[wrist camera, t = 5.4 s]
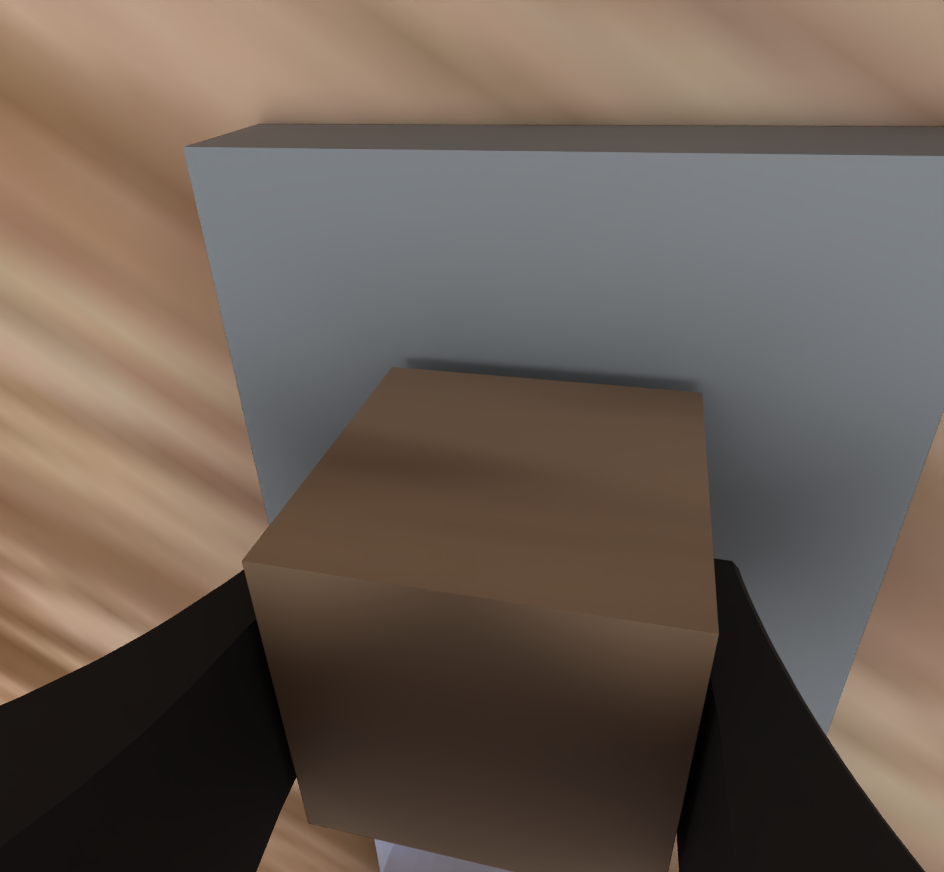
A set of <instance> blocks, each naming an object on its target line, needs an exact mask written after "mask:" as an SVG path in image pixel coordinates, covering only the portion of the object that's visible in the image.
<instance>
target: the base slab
mask: <svg viewBox="0 0 944 872" xmlns="http://www.w3.org/2000/svg"><path fill="white" fill-rule="evenodd" d="M183 149H184V153H185V158H186V162H187V166H188V171H189V175H190V180H191V184H192V188H193V193H194V197H195V202H196V206H197V210H198V215H199V219H200V224H201V228H202V232H203V237H204V241H205V246H206V250H207V255H208V259H209V263H210V268H211V272H212V277H213V281H214V285H215V290H216V294H217V299H218V303H219V307H220V312H221V316H222V321H223V325H224V329H225V334H226V338H227V343H228V347H229V351H230V356H231V360H232V365H233V369H234V373H235V378H236V382H237V387H238V391H239V395H240V400H241V404H242V409H243V413H244V417H245V422H246V426H247V431H248V435H249V439H250V444H251V448H252V453H253V457H254V461H255V466H256V470H257V475H258V479H259V483H260V488H261V492H262V497H263V501H264V505H265V510H266V514H267V519H268V523H269V525H270V524H271V523H272V521H273V520H274V519H275V518H276V516H277V515H278V514H279V512H280V511H281V510H282V509H283V507H284V506H285V505H286V503H287V502H288V501H289V500H290V498H291V497H292V496H293V494H294V493H295V492H296V491H297V489H298V488H299V487H300V485H301V484H302V483H303V482H304V480H305V479H306V478H307V476H308V475H309V474H310V472H311V471H312V470H313V469H314V467H315V466H316V465H317V463H318V462H319V461H320V460H321V458H322V457H323V456H324V454H325V453H326V452H327V451H328V449H329V448H330V447H331V445H332V444H333V443H334V442H335V440H336V439H337V438H338V436H339V435H340V434H341V432H342V431H343V430H344V429H345V427H346V426H347V425H348V423H349V422H350V421H351V420H352V418H353V417H354V416H355V414H356V413H357V412H358V411H359V409H360V408H361V407H362V405H363V404H364V403H365V402H366V400H367V399H368V398H369V396H370V395H371V394H372V393H373V391H374V390H375V389H376V387H377V386H378V385H379V383H380V382H381V381H382V380H383V378H384V377H385V376H386V374H387V373H388V372H389V371H390V369H391V368H392V367H399V368H411V369H423V370H435V371H447V372H459V373H471V374H483V375H496V376H508V377H520V378H532V379H544V380H556V381H568V382H580V383H592V384H604V385H616V386H628V387H640V388H652V389H664V390H676V391H688V392H700V393H702V398H703V412H704V427H705V441H706V456H707V470H708V484H709V499H710V513H711V528H712V542H713V556H714V558H715V559H722V560H730V561H733V562H734V563H735V565H736V566H737V567H738V568H739V571H740V573H741V576H742V579H743V581H744V584H745V586H746V589H747V591H748V593H749V596H750V598H751V600H752V602H753V605H754V607H755V609H756V611H757V613H758V615H759V617H760V619H761V622H762V624H763V626H764V628H765V630H766V632H767V634H768V636H769V638H770V640H771V642H772V644H773V645H774V647H775V649H776V651H777V653H778V655H779V657H780V658H781V660H782V662H783V664H784V666H785V667H786V669H787V671H788V673H789V675H790V676H791V678H792V680H793V682H794V684H795V685H796V687H797V689H798V691H799V692H800V694H801V696H802V698H803V699H804V701H805V703H806V704H807V706H808V708H809V709H810V711H811V713H812V714H813V716H814V717H815V719H816V721H817V722H818V724H819V725H820V727H821V728H822V730H823V732H824V733H825V735H827V732H828V729H829V727H830V724H831V721H832V718H833V716H834V713H835V710H836V707H837V705H838V702H839V699H840V696H841V693H842V691H843V688H844V685H845V682H846V680H847V677H848V674H849V671H850V668H851V666H852V663H853V660H854V657H855V655H856V652H857V649H858V646H859V644H860V641H861V638H862V635H863V632H864V630H865V627H866V624H867V621H868V619H869V616H870V613H871V610H872V608H873V605H874V602H875V599H876V596H877V594H878V591H879V588H880V585H881V583H882V580H883V577H884V574H885V571H886V569H887V566H888V563H889V560H890V558H891V555H892V552H893V549H894V547H895V544H896V541H897V538H898V535H899V533H900V530H901V527H902V524H903V522H904V519H905V516H906V513H907V511H908V508H909V505H910V502H911V499H912V497H913V494H914V491H915V488H916V486H917V483H918V480H919V477H920V475H921V472H922V469H923V466H924V463H925V461H926V458H927V455H928V452H929V450H930V447H931V444H932V441H933V438H934V436H935V433H936V430H937V427H938V425H939V422H940V419H941V416H942V414H943V411H944V127H928V126H661V125H393V124H257V125H254V126H251V127H248V128H244V129H241V130H238V131H234V132H231V133H228V134H224V135H221V136H218V137H214V138H211V139H208V140H205V141H201V142H198V143H195V144H191V145H188V146H185V147H183Z"/></svg>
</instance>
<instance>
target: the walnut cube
mask: <svg viewBox="0 0 944 872" xmlns="http://www.w3.org/2000/svg"><path fill="white" fill-rule="evenodd" d="M242 564H243V568H244V571H245V575H246V579H247V583H248V587H249V591H250V595H251V599H252V603H253V607H254V611H255V615H256V619H257V623H258V627H259V631H260V635H261V639H262V642H263V646H264V650H265V654H266V658H267V662H268V666H269V670H270V674H271V678H272V682H273V686H274V690H275V694H276V698H277V702H278V706H279V709H280V713H281V717H282V721H283V725H284V729H285V733H286V737H287V741H288V745H289V749H290V753H291V757H292V761H293V765H294V769H295V773H296V776H297V780H298V784H299V788H300V792H301V796H302V800H303V804H304V808H305V812H306V816H307V820H308V823H309V824H314V825H318V826H322V827H326V828H330V829H335V830H339V831H343V832H347V833H352V834H356V835H360V836H364V837H368V838H373V839H377V840H381V841H385V842H390V843H394V844H398V845H402V846H406V847H411V848H415V849H419V850H423V851H428V852H432V853H436V854H440V855H445V856H449V857H453V858H457V859H461V860H466V861H470V862H474V863H478V864H483V865H487V866H491V867H495V868H499V869H504V870H508V871H512V872H668V870H669V865H670V861H671V856H672V851H673V847H674V842H675V837H676V833H677V828H678V823H679V819H680V814H681V809H682V805H683V800H684V795H685V790H686V786H687V781H688V776H689V772H690V767H691V762H692V758H693V753H694V748H695V744H696V739H697V734H698V730H699V725H700V720H701V716H702V711H703V706H704V701H705V697H706V692H707V687H708V683H709V678H710V673H711V669H712V664H713V659H714V655H715V650H716V645H717V641H718V636H719V629H718V614H717V600H716V585H715V571H714V556H713V542H712V528H711V513H710V499H709V484H708V470H707V456H706V441H705V427H704V412H703V398H702V393H700V392H688V391H676V390H664V389H652V388H640V387H628V386H616V385H604V384H592V383H580V382H568V381H556V380H544V379H532V378H520V377H508V376H496V375H483V374H471V373H459V372H447V371H435V370H423V369H411V368H399V367H392V368H391V369H390V371H389V372H388V373H387V374H386V376H385V377H384V378H383V380H382V381H381V382H380V383H379V385H378V386H377V387H376V389H375V390H374V391H373V393H372V394H371V395H370V396H369V398H368V399H367V400H366V402H365V403H364V404H363V405H362V407H361V408H360V409H359V411H358V412H357V413H356V414H355V416H354V417H353V418H352V420H351V421H350V422H349V423H348V425H347V426H346V427H345V429H344V430H343V431H342V432H341V434H340V435H339V436H338V438H337V439H336V440H335V442H334V443H333V444H332V445H331V447H330V448H329V449H328V451H327V452H326V453H325V454H324V456H323V457H322V458H321V460H320V461H319V462H318V463H317V465H316V466H315V467H314V469H313V470H312V471H311V472H310V474H309V475H308V476H307V478H306V479H305V480H304V482H303V483H302V484H301V485H300V487H299V488H298V489H297V491H296V492H295V493H294V494H293V496H292V497H291V498H290V500H289V501H288V502H287V503H286V505H285V506H284V507H283V509H282V510H281V511H280V512H279V514H278V515H277V516H276V518H275V519H274V520H273V521H272V523H271V524H270V525H269V527H268V528H267V529H266V531H265V532H264V533H263V534H262V536H261V537H260V538H259V540H258V541H257V542H256V543H255V545H254V546H253V547H252V549H251V550H250V551H249V552H248V554H247V555H246V556H245V558H244V559H243V560H242Z"/></svg>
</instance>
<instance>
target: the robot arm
mask: <svg viewBox="0 0 944 872" xmlns="http://www.w3.org/2000/svg"><path fill="white" fill-rule="evenodd" d="M714 571H715V585H716V600H717V614H718V629H719V636H718V641H717V645H716V650H715V655H714V659H713V664H712V669H711V673H710V678H709V683H708V687H707V692H706V697H705V701H704V706H703V711H702V716H701V720H700V725H699V730H698V734H697V739H696V744H695V748H694V753H693V758H692V762H691V767H690V772H689V776H688V781H687V786H686V790H685V795H684V800H683V805H682V809H681V814H680V819H679V823H678V828H677V845H678V861H679V872H925V871H924V870H923V868H922V867H921V866H920V865H919V863H918V862H917V861H916V860H915V858H914V857H913V856H912V854H911V853H910V852H909V851H908V849H907V848H906V847H905V845H904V844H903V843H902V842H901V840H900V839H899V838H898V836H897V835H896V834H895V833H894V831H893V830H892V829H891V827H890V826H889V825H888V824H887V822H886V821H885V820H884V818H883V817H882V816H881V814H880V813H879V811H878V810H877V809H876V807H875V806H874V805H873V803H872V802H871V800H870V799H869V798H868V796H867V795H866V794H865V792H864V791H863V790H862V788H861V787H860V785H859V784H858V783H857V781H856V780H855V778H854V777H853V775H852V774H851V772H850V771H849V770H848V768H847V767H846V765H845V764H844V762H843V761H842V759H841V758H840V756H839V755H838V753H837V752H836V750H835V749H834V747H833V746H832V744H831V743H830V741H829V739H828V738H827V736H826V735H825V733H824V732H823V730H822V728H821V727H820V725H819V724H818V722H817V721H816V719H815V717H814V716H813V714H812V713H811V711H810V709H809V708H808V706H807V704H806V703H805V701H804V699H803V698H802V696H801V694H800V692H799V691H798V689H797V687H796V685H795V684H794V682H793V680H792V678H791V676H790V675H789V673H788V671H787V669H786V667H785V666H784V664H783V662H782V660H781V658H780V657H779V655H778V653H777V651H776V649H775V647H774V645H773V644H772V642H771V640H770V638H769V636H768V634H767V632H766V630H765V628H764V626H763V624H762V622H761V619H760V617H759V615H758V613H757V611H756V609H755V607H754V605H753V602H752V600H751V598H750V596H749V593H748V591H747V589H746V586H745V584H744V581H743V579H742V576H741V573H740V571H739V568H738V567H737V566H736V565H735V563H734V562H733V561H730V560H722V559H715V558H714ZM296 777H297V776H296V773H295V769H294V765H293V761H292V757H291V753H290V749H289V745H288V741H287V737H286V733H285V729H284V725H283V721H282V717H281V713H280V709H279V706H278V702H277V698H276V694H275V690H274V686H273V682H272V678H271V674H270V670H269V666H268V662H267V658H266V654H265V650H264V646H263V642H262V639H261V635H260V631H259V627H258V623H257V619H256V615H255V611H254V607H253V603H252V599H251V595H250V591H249V587H248V583H247V579H246V575H245V571H244V570H242V571H241V572H240V573H238V574H237V575H235V576H234V577H233V578H231V579H230V580H228V581H227V582H225V583H224V584H222V585H221V586H219V587H218V588H216V589H215V590H213V591H212V592H210V593H209V594H207V595H206V596H204V597H202V598H201V599H199V600H198V601H196V602H195V603H193V604H192V605H190V606H189V607H187V608H186V609H184V610H183V611H181V612H180V613H178V614H177V615H175V616H173V617H172V618H170V619H169V620H167V621H165V622H164V623H162V624H160V625H159V626H157V627H155V628H154V629H152V630H150V631H149V632H147V633H145V634H143V635H142V636H140V637H138V638H136V639H135V640H133V641H131V642H129V643H127V644H126V645H124V646H122V647H120V648H118V649H116V650H115V651H113V652H111V653H109V654H107V655H106V656H104V657H102V658H100V659H98V660H96V661H94V662H92V663H90V664H88V665H86V666H84V667H82V668H80V669H78V670H76V671H74V672H71V673H69V674H67V675H65V676H63V677H61V678H59V679H57V680H55V681H53V682H51V683H49V684H46V685H44V686H42V687H40V688H38V689H36V690H34V691H32V692H30V693H28V694H26V695H23V696H21V697H19V698H17V699H14V700H12V701H10V702H8V703H5V704H3V705H0V872H256V871H257V868H258V866H259V863H260V861H261V858H262V856H263V853H264V851H265V848H266V846H267V843H268V841H269V838H270V836H271V833H272V831H273V829H274V826H275V824H276V821H277V819H278V816H279V814H280V811H281V809H282V807H283V804H284V802H285V800H286V798H287V796H288V794H289V792H290V790H291V787H292V785H293V783H294V781H295V779H296ZM374 840H375V846H376V851H377V857H378V862H379V868H380V872H512V871H508V870H504V869H499V868H495V867H491V866H487V865H483V864H478V863H474V862H470V861H466V860H461V859H457V858H453V857H449V856H445V855H440V854H436V853H432V852H428V851H423V850H419V849H415V848H411V847H406V846H402V845H398V844H394V843H390V842H385V841H381V840H377V839H374Z"/></svg>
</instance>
